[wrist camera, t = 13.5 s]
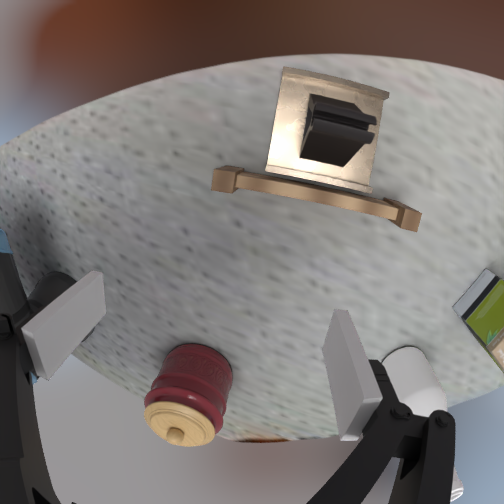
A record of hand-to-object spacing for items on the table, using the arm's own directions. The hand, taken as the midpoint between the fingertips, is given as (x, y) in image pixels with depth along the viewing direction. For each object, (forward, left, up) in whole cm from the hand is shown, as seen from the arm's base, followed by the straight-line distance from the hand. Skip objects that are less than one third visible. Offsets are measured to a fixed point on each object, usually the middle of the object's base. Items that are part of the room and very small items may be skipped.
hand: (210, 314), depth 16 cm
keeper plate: (+8, +13, -27) cm, 31 cm away
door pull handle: (+8, +5, -27) cm, 29 cm away
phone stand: (+8, +13, -27) cm, 30 cm away
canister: (-5, -30, -27) cm, 41 cm away
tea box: (+46, -8, -27) cm, 54 cm away
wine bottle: (+32, -22, -27) cm, 47 cm away
